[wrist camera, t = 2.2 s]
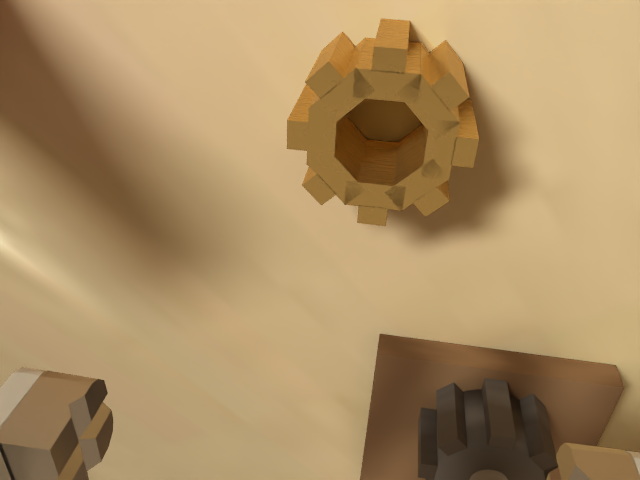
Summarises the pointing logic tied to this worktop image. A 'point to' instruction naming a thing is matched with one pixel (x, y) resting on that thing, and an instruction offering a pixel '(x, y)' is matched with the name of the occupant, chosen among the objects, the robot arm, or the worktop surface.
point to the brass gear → (382, 156)
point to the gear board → (467, 366)
